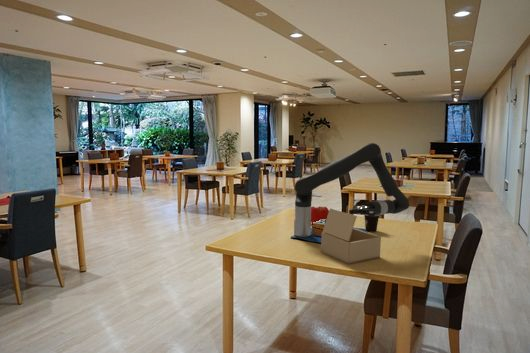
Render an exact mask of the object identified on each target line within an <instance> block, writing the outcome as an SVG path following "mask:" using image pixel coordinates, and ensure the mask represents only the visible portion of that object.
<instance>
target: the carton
mask: <svg viewBox="0 0 530 353" xmlns="http://www.w3.org/2000/svg"><path fill="white" fill-rule="evenodd" d="M381 241H382V236H379V235H376V234H374V233H371V232H368V231H363V230H361V229H359V228H356V227H355V228H354V227H353V230H352V233H351V236H350V240H349V241H347V240H344V239H341V238H339V237H336V236H333V235H331V234H328V233H325V232H323V231H322V232H321V242H320V243H321V244H320V246H321V247H320V253H322V254H324V255H327V256H329V257H330V258H333V259H334V260H337V261H341V262H342V263H345V264H346V265H350V264H351V265H352V264H356V263H360V262H366V261H370V260H374V259H375V260H376V259H379V258H381V246H382V244H381Z"/></svg>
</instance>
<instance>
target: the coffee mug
mask: <svg viewBox="0 0 530 353" xmlns="http://www.w3.org/2000/svg"><path fill="white" fill-rule="evenodd" d="M379 217H380V215H378V216H372V217H370V216H368V215H364V227H365V232H367V233H376V232H377V230H378V225H379V219H380V218H379Z"/></svg>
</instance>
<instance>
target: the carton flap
mask: <svg viewBox="0 0 530 353" xmlns="http://www.w3.org/2000/svg"><path fill="white" fill-rule="evenodd" d="M328 210H329V213H328V216H327V219H326V223H325V224H324V226H323V229H322V232H325V233H328V234H331V235H333V236H336V237H339V238H341V239H344V240H347V241H349V240H350V236H351V233H352V230H353V228H354V227H355V223H356V221H357V220H356V219H357V218H358V217H357V215H356V214H349V212H348V213H347V212H344V211H340V210H337V209H333V208H329V209H328Z"/></svg>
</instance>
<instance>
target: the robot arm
mask: <svg viewBox="0 0 530 353" xmlns="http://www.w3.org/2000/svg"><path fill="white" fill-rule="evenodd" d="M367 162H369V164H370V165H371V166H372V168H373V170H374V171H375V173H376V176H377V178H378V181H379V184H380V185H381V187H382V188H383V190H384V193H385V195H386V196H387V197H394V200H391V199H383V200H371V201H367V202H365V204H363V205H359V206H358V205H354V206H352V209H351V208H350V209H349V210H348V214H351V215H356V214H357V215H368V216H370V217H372V216H378V215H379V216H382V215H388V214H398V213H401V212H404V211H406V210H407V209H409V207H410V200H409V198H408V197H407V196H406V195H405V194H404V193H403V192H402V190H400V189H399V187H398V185H397V182H396V181H395V179H394V177H393V176H392V174H391V173H390V171H389V169H388V167H387V165H386V163H385V161H384V158H383V155H382V149H381V147H380V146H379V144H377V143H374V142H370V143H367V144H365V145H364V146H362V147H361V148H358V149H357V150H356V151H354V152H352V153H351V154H348V155H345V156H343V157H341V158H339V159H337V160H333V161H332V162H331V163H329V164H327V165H325V166H324V167H322V168H321V169H319V170H318V171H317V172H315V173H313V174H310V175H308V176H307V177H300V178H299V179H298V180H297V181H295V183H294V191H295V202H294V220H293V221H294V222H293V236H296V237H299V238H300V237H303V238H304V237H310V236H311V231H312V229H311V228H312V227H311V226H312V225H311V224H312V222H311V207H312V202H313V198H312V197H313V191H314V190H315V189H316V188H318V187H320V186H322V185H325V184H328V183H330V182H332V181H335V180H337V179H339V178H342V177H344V176H345V175H347V174H349V173H350V172H351V171H353V170H354V169H355V168H357V167H358V166H360V165H361V164H365V163H367Z"/></svg>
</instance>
